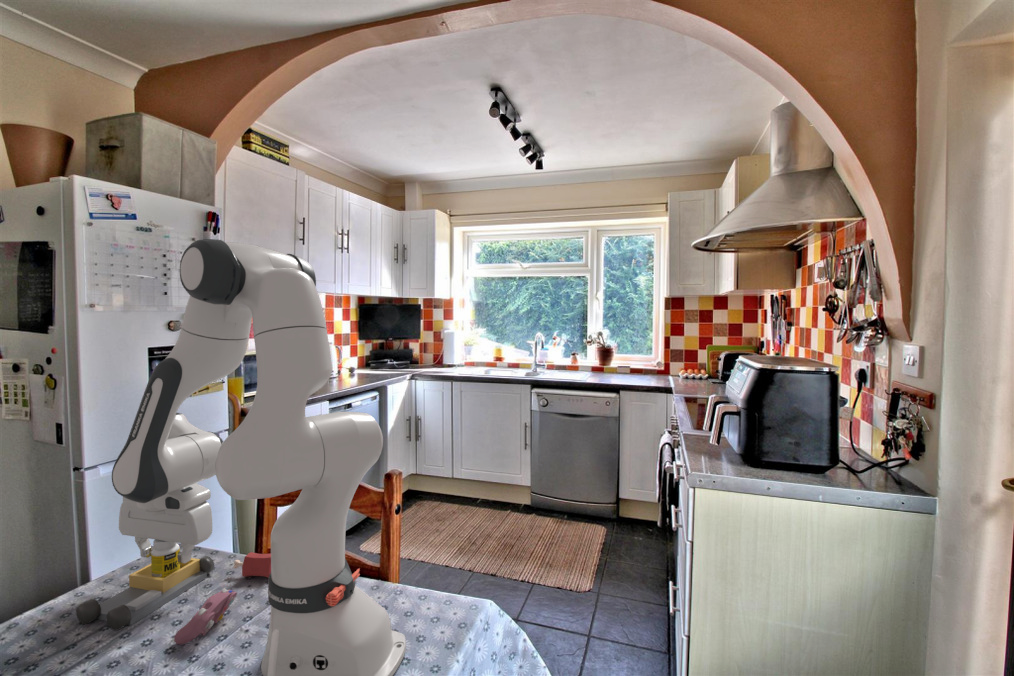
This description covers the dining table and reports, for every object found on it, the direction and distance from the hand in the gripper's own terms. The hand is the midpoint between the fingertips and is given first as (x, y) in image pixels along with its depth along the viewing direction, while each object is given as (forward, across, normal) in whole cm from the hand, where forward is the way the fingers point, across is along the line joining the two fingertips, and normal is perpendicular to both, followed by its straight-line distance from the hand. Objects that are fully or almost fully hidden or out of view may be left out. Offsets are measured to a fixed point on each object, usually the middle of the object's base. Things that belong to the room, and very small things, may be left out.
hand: (165, 558), depth 97 cm
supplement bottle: (+4, 0, 0) cm, 4 cm away
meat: (+6, +16, +8) cm, 19 cm away
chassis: (+5, +1, -4) cm, 7 cm away
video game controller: (+6, +20, -9) cm, 22 cm away
